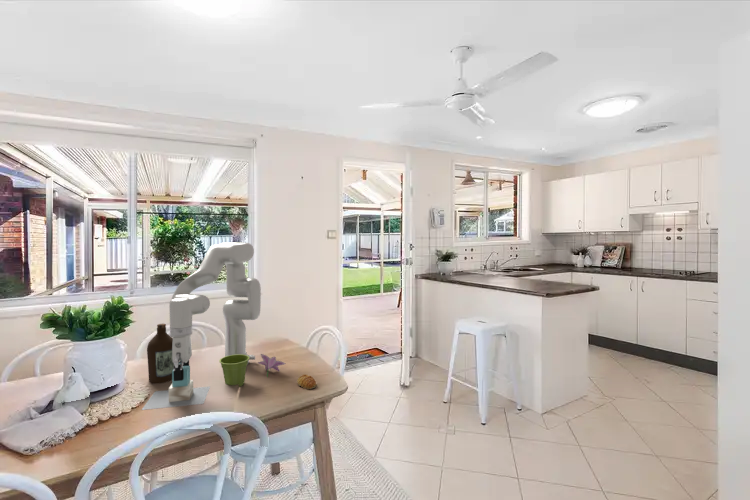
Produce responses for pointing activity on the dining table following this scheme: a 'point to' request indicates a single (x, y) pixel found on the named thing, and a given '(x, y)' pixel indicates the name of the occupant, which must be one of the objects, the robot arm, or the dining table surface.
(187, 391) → the cream base block
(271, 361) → the lily
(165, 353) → the olive oil
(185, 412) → the dining table surface
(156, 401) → the slate board
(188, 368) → the teal block
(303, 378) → the pastry
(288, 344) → the dining table surface
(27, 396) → the dining table surface
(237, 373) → the plant pot
